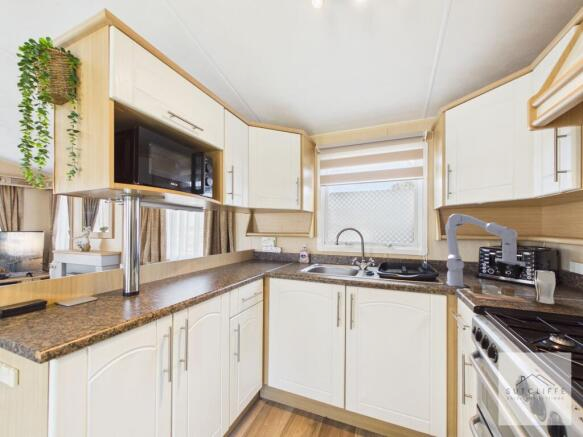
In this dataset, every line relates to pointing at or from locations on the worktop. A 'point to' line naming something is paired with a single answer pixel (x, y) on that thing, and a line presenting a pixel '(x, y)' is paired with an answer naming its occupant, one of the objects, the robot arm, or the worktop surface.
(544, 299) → the beer glass
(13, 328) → the worktop surface
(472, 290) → the walnut block
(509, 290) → the walnut block
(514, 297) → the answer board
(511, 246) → the robot arm
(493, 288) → the metal block
